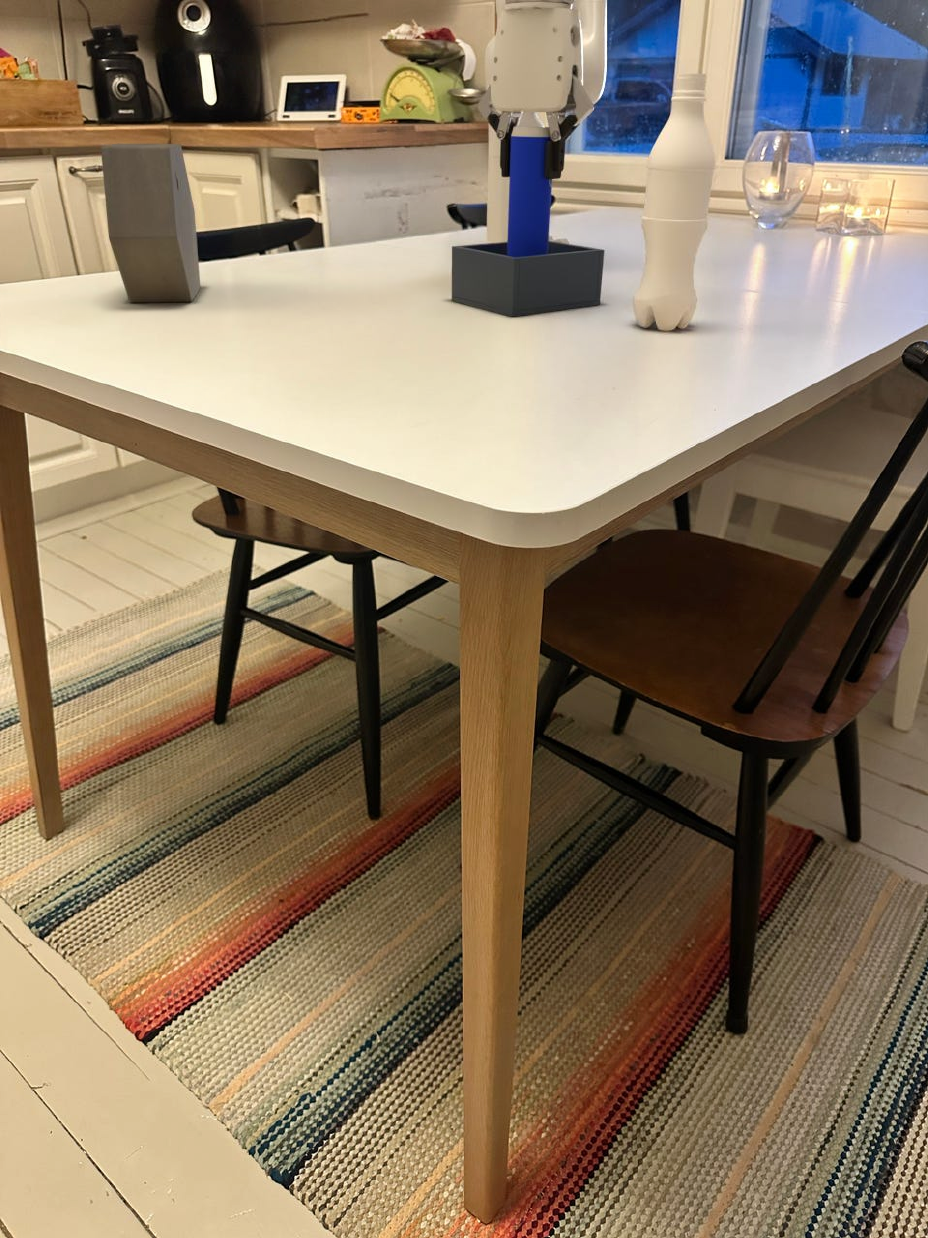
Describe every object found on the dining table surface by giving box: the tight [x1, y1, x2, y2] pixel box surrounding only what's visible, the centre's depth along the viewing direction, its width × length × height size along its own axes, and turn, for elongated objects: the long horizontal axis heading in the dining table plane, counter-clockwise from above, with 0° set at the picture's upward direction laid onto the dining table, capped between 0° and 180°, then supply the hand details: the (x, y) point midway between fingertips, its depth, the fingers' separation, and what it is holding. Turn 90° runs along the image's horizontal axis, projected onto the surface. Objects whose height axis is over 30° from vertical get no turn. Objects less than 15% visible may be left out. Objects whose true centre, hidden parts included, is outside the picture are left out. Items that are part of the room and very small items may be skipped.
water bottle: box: [632, 73, 716, 332], centre depth 97 cm, size 7×7×25 cm
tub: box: [451, 241, 605, 318], centre depth 113 cm, size 15×13×7 cm
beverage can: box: [507, 126, 553, 257], centre depth 109 cm, size 5×5×15 cm
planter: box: [100, 143, 201, 304], centre depth 111 cm, size 17×8×21 cm
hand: (531, 175), depth 107 cm, fingers closed on beverage can, 5 cm apart
